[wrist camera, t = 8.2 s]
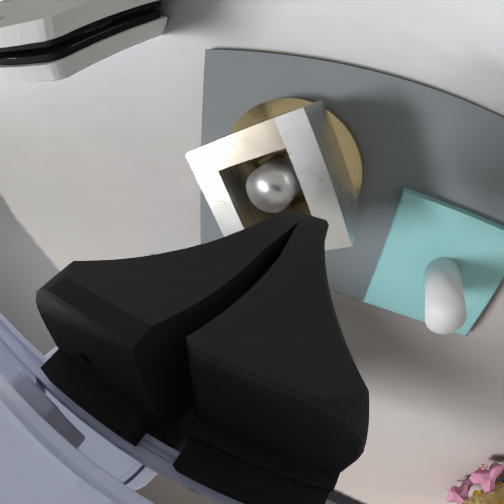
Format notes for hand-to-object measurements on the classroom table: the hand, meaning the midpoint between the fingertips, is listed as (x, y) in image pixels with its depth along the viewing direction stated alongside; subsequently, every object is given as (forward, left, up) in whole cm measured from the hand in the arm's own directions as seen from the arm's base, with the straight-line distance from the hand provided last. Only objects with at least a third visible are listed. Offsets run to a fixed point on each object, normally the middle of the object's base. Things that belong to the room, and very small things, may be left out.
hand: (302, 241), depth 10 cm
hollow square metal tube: (0, +2, -6) cm, 6 cm away
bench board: (-1, -1, -7) cm, 7 cm away
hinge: (+9, +19, -7) cm, 22 cm away
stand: (-3, -7, -6) cm, 10 cm away
